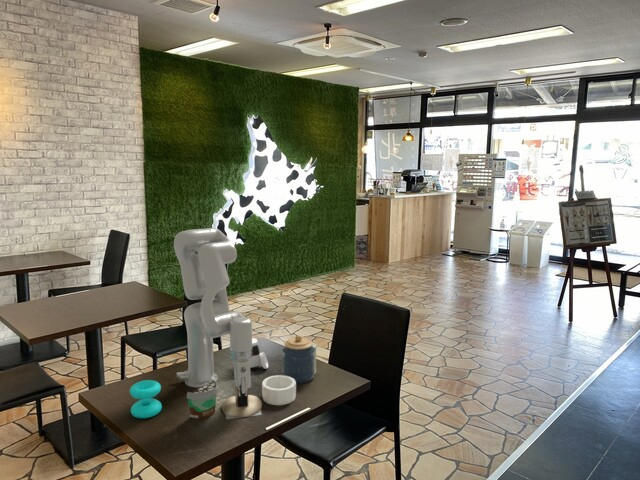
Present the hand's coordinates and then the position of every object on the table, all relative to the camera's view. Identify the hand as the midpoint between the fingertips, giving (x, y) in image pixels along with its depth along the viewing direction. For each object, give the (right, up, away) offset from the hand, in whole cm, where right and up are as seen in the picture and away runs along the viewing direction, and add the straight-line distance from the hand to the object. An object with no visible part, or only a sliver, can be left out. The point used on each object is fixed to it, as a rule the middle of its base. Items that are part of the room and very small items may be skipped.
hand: (241, 402), depth 168 cm
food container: (-11, -3, -5) cm, 12 cm away
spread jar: (0, +3, +34) cm, 34 cm away
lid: (0, -2, 0) cm, 2 cm away
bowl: (+12, -1, +8) cm, 15 cm away
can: (+21, +2, +30) cm, 37 cm away
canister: (+19, +1, +25) cm, 32 cm away
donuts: (-32, -3, -3) cm, 32 cm away
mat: (0, -2, 0) cm, 2 cm away
